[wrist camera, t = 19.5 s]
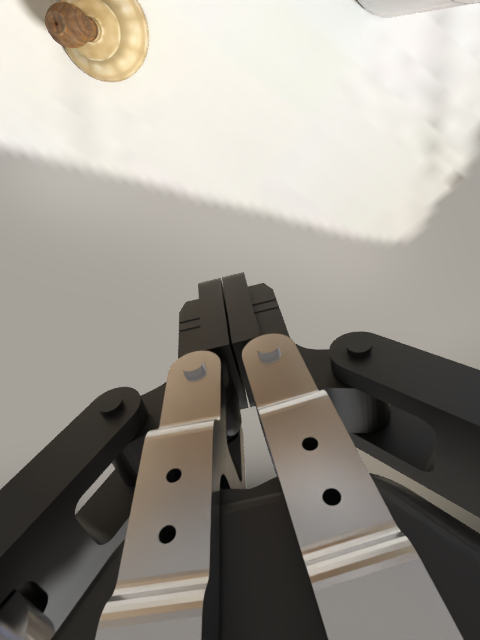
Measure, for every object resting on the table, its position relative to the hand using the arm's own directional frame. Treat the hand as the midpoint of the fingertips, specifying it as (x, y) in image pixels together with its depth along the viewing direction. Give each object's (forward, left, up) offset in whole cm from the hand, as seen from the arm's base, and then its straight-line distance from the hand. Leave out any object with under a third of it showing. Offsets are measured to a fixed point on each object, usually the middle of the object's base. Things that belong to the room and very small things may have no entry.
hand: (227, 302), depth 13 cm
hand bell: (+7, -10, -37) cm, 39 cm away
